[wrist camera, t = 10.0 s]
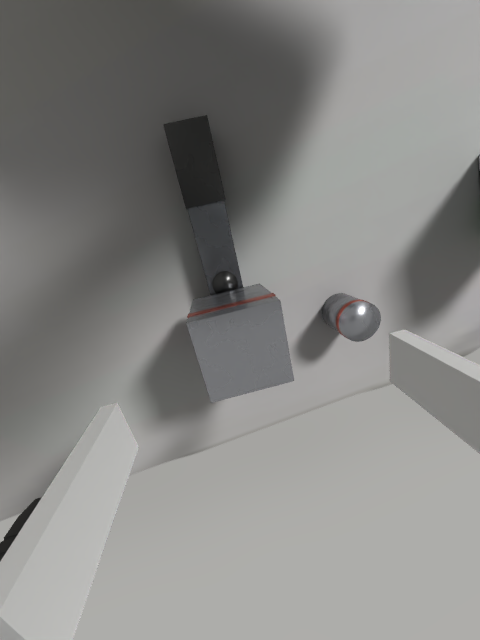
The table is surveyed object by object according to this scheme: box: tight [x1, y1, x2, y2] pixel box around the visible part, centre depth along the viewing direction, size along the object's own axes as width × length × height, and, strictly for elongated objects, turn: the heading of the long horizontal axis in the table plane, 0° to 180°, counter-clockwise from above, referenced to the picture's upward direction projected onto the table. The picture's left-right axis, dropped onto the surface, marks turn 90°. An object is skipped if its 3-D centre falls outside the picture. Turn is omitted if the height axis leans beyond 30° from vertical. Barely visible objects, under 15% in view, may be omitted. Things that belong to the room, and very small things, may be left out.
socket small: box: [322, 293, 381, 342], centre depth 26 cm, size 4×4×4 cm
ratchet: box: [163, 115, 243, 295], centre depth 21 cm, size 19×6×7 cm, turn 13°
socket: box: [186, 284, 294, 403], centre depth 20 cm, size 6×6×7 cm
